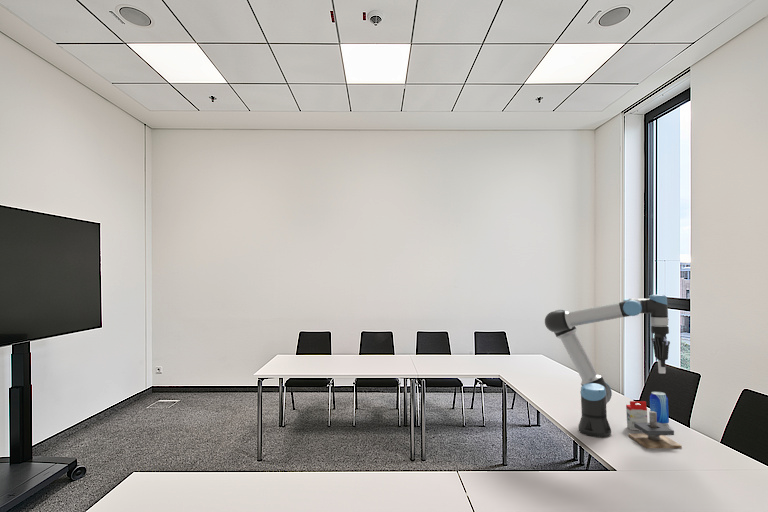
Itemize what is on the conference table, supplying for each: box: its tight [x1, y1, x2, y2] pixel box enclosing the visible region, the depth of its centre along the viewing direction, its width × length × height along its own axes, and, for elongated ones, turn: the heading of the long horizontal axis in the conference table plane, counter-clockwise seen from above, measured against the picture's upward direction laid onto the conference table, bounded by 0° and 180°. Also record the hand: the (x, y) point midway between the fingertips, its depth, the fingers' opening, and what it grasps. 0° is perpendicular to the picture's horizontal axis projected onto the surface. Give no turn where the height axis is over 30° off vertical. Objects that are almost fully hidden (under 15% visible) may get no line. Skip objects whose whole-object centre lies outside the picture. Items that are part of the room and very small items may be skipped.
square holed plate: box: [634, 422, 675, 436], centre depth 217 cm, size 12×12×2 cm
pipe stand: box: [628, 410, 683, 449], centre depth 217 cm, size 16×16×14 cm
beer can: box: [649, 391, 670, 426], centre depth 244 cm, size 8×8×16 cm
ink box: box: [625, 400, 649, 431], centre depth 236 cm, size 8×5×15 cm, turn 84°
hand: (662, 373), depth 227 cm, fingers closed
